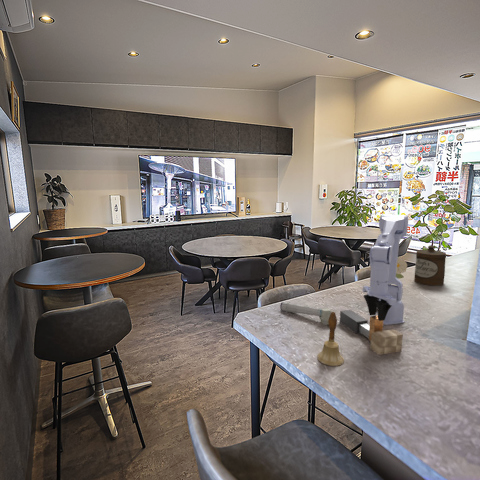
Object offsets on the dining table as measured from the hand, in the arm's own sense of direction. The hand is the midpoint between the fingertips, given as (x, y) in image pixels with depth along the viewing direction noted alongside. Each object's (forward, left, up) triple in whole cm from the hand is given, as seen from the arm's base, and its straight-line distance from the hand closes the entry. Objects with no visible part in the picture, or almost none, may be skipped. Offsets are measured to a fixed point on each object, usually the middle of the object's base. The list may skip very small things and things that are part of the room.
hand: (376, 317), depth 105 cm
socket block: (0, +5, -10) cm, 11 cm away
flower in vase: (-26, -25, -10) cm, 37 cm away
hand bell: (+21, +5, -10) cm, 24 cm away
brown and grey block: (0, -3, -10) cm, 10 cm away
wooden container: (-79, -54, -10) cm, 96 cm away
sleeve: (0, -13, -10) cm, 16 cm away
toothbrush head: (+13, -27, -10) cm, 32 cm away
